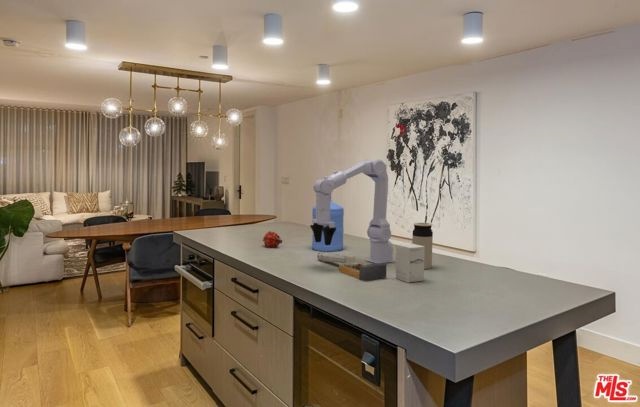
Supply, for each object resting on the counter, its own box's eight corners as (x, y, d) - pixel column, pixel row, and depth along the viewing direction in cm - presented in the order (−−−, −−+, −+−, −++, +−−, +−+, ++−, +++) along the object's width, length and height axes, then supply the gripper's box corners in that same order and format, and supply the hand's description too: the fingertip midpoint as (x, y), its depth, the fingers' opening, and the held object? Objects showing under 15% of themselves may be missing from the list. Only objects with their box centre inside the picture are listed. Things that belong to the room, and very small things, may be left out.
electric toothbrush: (325, 251, 192) (360, 252, 171) (326, 266, 192) (361, 269, 170) (315, 252, 189) (349, 254, 168) (316, 267, 189) (350, 271, 168)
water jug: (348, 248, 220) (349, 192, 217) (333, 253, 206) (333, 194, 204) (322, 245, 228) (323, 191, 226) (305, 249, 215) (306, 193, 213)
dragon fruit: (267, 247, 228) (278, 254, 218) (256, 239, 223) (267, 246, 213) (276, 234, 229) (288, 240, 220) (265, 226, 224) (277, 232, 215)
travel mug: (435, 267, 178) (436, 223, 177) (425, 270, 172) (426, 225, 171) (418, 264, 184) (419, 222, 182) (407, 267, 178) (409, 223, 176)
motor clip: (359, 268, 175) (359, 256, 174) (386, 277, 160) (386, 264, 160) (338, 271, 170) (338, 258, 169) (364, 281, 155) (364, 267, 155)
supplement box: (408, 283, 153) (409, 247, 152) (395, 278, 159) (395, 244, 158) (424, 280, 156) (425, 246, 155) (411, 276, 163) (412, 243, 162)
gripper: (305, 208, 177) (305, 241, 178) (323, 211, 164) (323, 247, 165) (320, 207, 180) (320, 240, 182) (339, 210, 168) (339, 245, 169)
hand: (322, 243), depth 174 cm, fingers open, 7 cm apart
